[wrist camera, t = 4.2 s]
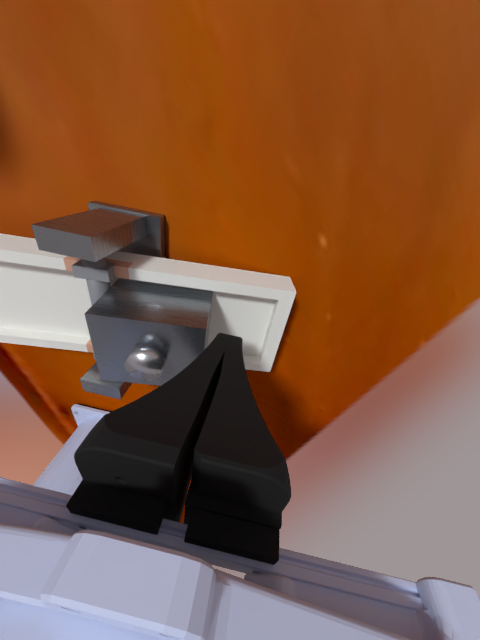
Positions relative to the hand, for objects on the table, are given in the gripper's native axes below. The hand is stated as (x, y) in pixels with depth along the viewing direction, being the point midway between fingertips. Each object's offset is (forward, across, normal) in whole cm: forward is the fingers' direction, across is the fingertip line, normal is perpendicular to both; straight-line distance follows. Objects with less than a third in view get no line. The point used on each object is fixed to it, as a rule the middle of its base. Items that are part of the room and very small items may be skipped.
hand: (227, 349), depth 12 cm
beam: (+2, +7, 0) cm, 8 cm away
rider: (+2, +4, 0) cm, 4 cm away
